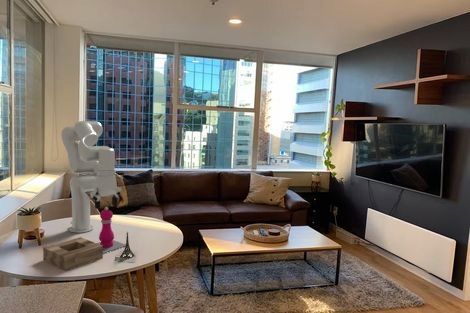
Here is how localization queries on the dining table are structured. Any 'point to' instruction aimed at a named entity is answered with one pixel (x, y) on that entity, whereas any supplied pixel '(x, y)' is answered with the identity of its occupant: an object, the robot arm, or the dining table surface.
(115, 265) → the dining table surface
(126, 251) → the eiffel tower figurine
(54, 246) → the walnut pocket holder
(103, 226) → the pepper mill
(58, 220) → the dining table surface
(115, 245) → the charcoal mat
